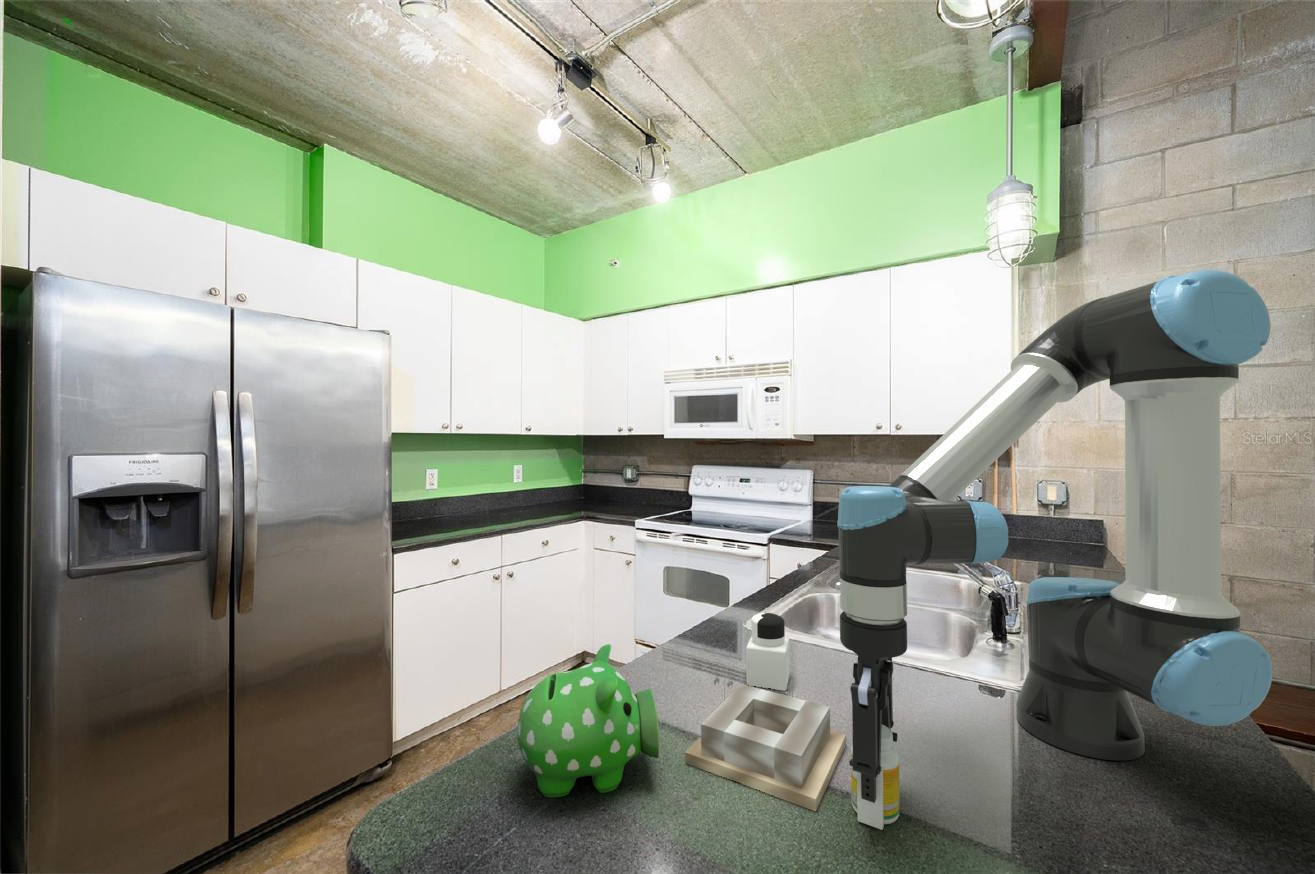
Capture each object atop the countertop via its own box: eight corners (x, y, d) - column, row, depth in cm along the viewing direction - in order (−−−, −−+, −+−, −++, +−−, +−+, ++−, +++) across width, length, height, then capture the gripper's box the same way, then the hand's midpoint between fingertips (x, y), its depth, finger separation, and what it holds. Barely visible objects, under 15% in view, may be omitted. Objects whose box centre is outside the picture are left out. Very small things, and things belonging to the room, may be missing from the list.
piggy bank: (662, 803, 64) (661, 681, 64) (511, 821, 61) (510, 693, 61) (647, 738, 78) (646, 638, 78) (523, 750, 75) (523, 646, 75)
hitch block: (846, 745, 76) (845, 707, 76) (815, 811, 62) (815, 765, 62) (732, 711, 85) (732, 678, 86) (685, 762, 72) (684, 723, 72)
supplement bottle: (842, 807, 63) (841, 728, 63) (865, 788, 66) (864, 713, 66) (886, 833, 59) (884, 748, 59) (908, 811, 62) (906, 731, 62)
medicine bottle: (789, 674, 99) (789, 611, 99) (786, 691, 92) (785, 624, 92) (752, 669, 101) (751, 608, 101) (746, 685, 95) (745, 620, 95)
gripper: (856, 591, 72) (858, 758, 72) (820, 632, 57) (823, 845, 57) (915, 599, 68) (918, 776, 68) (895, 646, 53) (898, 875, 53)
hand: (875, 807), depth 62 cm, fingers closed on supplement bottle, 5 cm apart
